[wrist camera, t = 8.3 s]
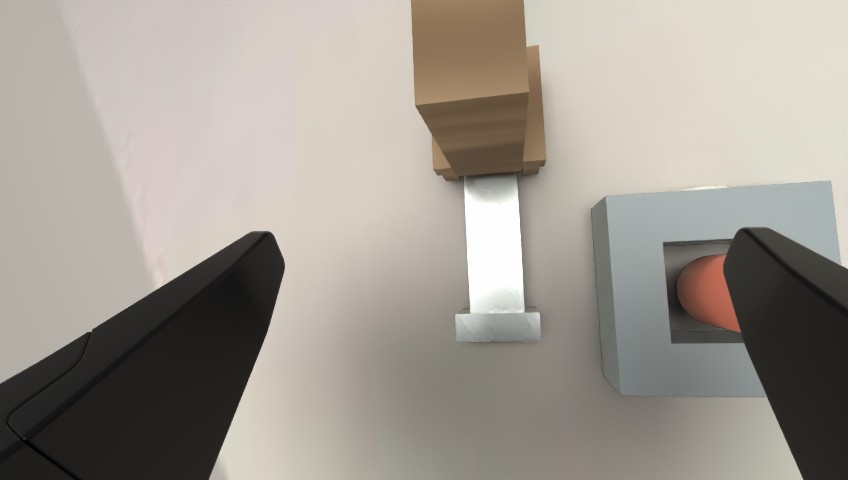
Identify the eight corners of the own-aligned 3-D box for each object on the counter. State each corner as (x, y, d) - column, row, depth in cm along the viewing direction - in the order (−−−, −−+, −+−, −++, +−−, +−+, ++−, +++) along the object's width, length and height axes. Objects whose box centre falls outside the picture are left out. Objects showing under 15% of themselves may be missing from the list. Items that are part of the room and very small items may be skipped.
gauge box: (796, 376, 19) (857, 398, 16) (603, 375, 21) (620, 395, 17) (775, 192, 20) (830, 175, 17) (590, 204, 21) (605, 191, 18)
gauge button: (757, 324, 17) (822, 338, 14) (679, 325, 18) (722, 339, 14) (750, 253, 17) (812, 248, 14) (674, 257, 18) (714, 252, 14)
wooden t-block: (542, 181, 21) (572, 86, 10) (442, 189, 22) (377, 109, 11) (535, 72, 21) (557, -126, 11) (438, 84, 22) (371, -87, 12)
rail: (537, 331, 22) (541, 341, 18) (464, 332, 22) (456, 342, 19) (510, -112, 24) (510, -171, 20) (444, -98, 24) (434, -153, 21)
